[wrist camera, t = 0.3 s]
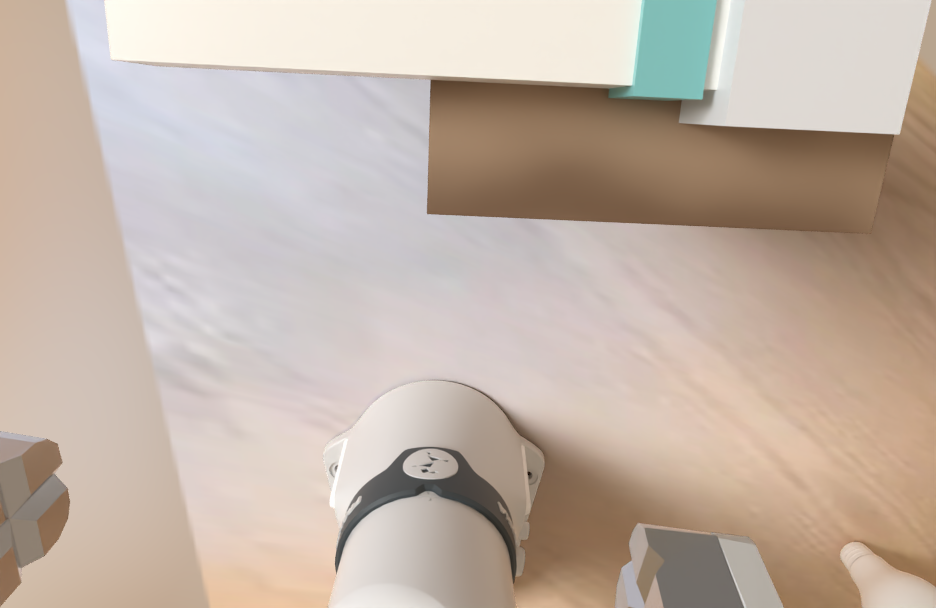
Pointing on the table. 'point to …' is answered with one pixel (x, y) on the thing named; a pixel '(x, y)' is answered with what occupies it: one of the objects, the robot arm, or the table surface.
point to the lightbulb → (885, 581)
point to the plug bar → (570, 49)
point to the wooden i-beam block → (640, 163)
